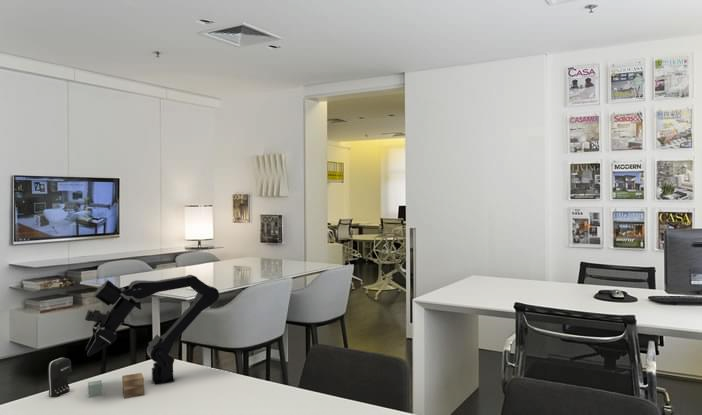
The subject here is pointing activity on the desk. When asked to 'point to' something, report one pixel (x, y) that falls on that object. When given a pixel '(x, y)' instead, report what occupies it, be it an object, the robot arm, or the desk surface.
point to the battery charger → (58, 376)
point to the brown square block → (133, 381)
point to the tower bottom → (133, 392)
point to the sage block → (95, 388)
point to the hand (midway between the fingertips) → (87, 353)
